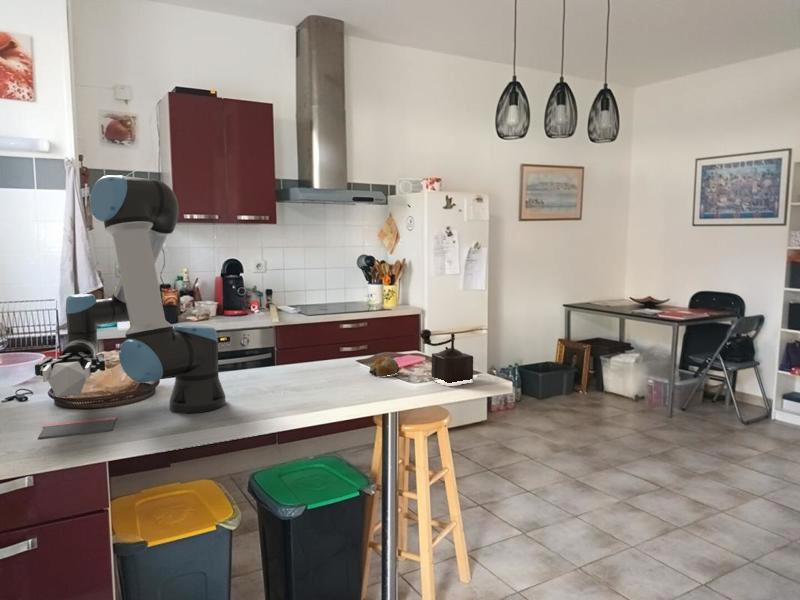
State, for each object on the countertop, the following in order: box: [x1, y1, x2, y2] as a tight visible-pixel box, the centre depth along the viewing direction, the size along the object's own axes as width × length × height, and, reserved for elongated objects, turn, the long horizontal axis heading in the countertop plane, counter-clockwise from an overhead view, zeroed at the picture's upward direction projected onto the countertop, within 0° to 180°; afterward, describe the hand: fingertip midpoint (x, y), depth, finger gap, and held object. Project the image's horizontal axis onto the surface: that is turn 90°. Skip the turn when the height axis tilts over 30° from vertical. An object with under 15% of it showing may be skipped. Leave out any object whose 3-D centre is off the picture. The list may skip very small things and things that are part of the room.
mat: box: [37, 420, 116, 440], centre depth 145 cm, size 16×8×1 cm, turn 112°
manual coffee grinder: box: [419, 328, 474, 383], centre depth 193 cm, size 16×11×18 cm
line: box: [42, 416, 119, 428], centre depth 151 cm, size 17×2×1 cm, turn 112°
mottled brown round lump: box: [369, 356, 400, 377], centre depth 204 cm, size 10×10×8 cm
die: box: [47, 362, 87, 398], centre depth 143 cm, size 8×9×10 cm
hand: (65, 374), depth 138 cm, fingers closed on die, 8 cm apart
